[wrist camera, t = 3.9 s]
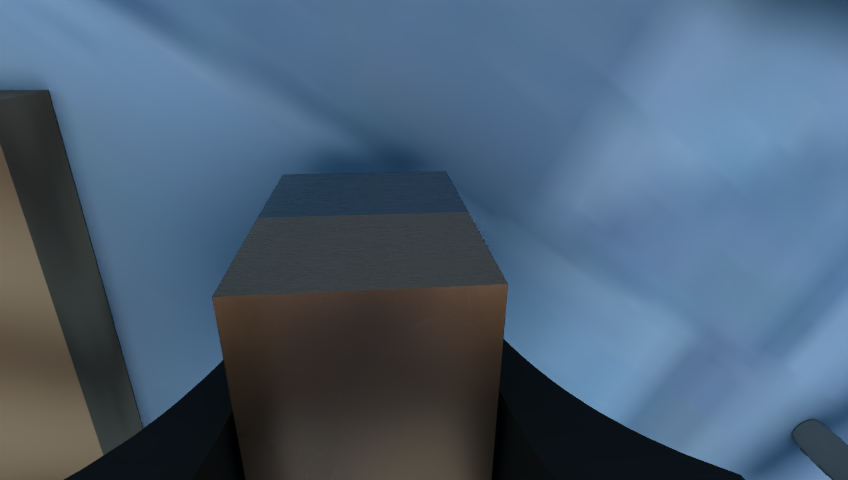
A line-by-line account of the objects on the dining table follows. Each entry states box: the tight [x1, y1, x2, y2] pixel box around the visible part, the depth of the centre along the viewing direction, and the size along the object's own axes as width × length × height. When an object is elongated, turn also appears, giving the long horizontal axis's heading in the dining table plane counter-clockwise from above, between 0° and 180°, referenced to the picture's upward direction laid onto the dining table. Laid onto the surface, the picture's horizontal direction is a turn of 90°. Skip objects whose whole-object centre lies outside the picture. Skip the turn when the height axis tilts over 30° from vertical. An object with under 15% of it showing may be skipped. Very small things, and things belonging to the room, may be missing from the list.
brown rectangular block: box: [212, 171, 508, 480], centre depth 11 cm, size 8×4×6 cm, turn 179°
